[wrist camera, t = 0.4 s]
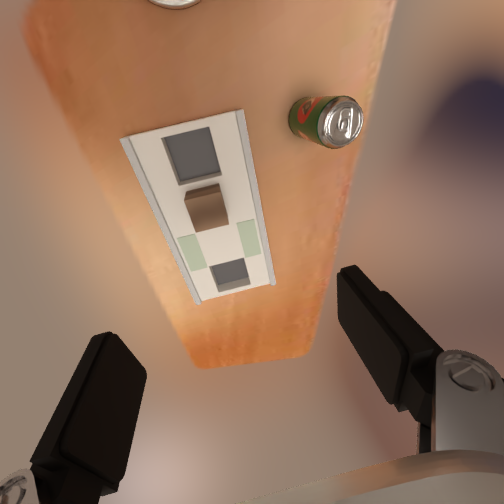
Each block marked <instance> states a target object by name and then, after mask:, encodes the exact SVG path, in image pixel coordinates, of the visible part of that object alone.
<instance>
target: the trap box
mask: <svg viewBox="0 0 504 504" xmlns="http://www.w3.org/2000/svg"><path fill="white" fill-rule="evenodd" d="M119 140H120V142H121V144H122V146H123V148H124V150H125V153H126V155H127V157H128V159H129V161H130V163H131V166H132V168H133V170H134V172H135V174H136V176H137V178H138V181H139V183H140V185H141V187H142V189H143V191H144V194H145V196H146V198H147V200H148V202H149V204H150V206H151V209H152V211H153V213H154V215H155V217H156V219H157V222H158V224H159V226H160V228H161V230H162V232H163V234H164V237H165V239H166V241H167V243H168V245H169V247H170V250H171V252H172V254H173V256H174V258H175V260H176V262H177V265H178V267H179V269H180V271H181V273H182V275H183V278H184V280H185V282H186V284H187V286H188V288H189V291H190V293H191V295H192V297H193V299H194V301H195V303H196V305H199V304H201V301H204V300H207V299H211V298H215V297H219V296H223V295H227V294H231V293H235V292H238V291H242V290H246V289H250V288H254V287H258V286H262V285H266V284H269V283H270V284H271V286H273V285H276V281H275V276H274V270H273V265H272V260H271V254H270V249H269V244H268V238H267V233H266V228H265V222H264V217H263V212H262V206H261V201H260V196H259V190H258V185H257V180H256V174H255V169H254V164H253V158H252V153H251V148H250V142H249V137H248V131H247V126H246V121H245V115H244V110H243V109H237V110H233V111H229V112H225V113H221V114H217V115H212V116H208V117H204V118H200V119H196V120H192V121H187V122H183V123H179V124H175V125H171V126H166V127H162V128H158V129H154V130H150V131H146V132H141V133H137V134H133V135H129V136H126V137H123V138H121V139H119ZM218 183H219V185H220V189H221V192H222V196H223V200H224V203H225V207H226V210H227V214H228V220H229V225H225V226H221V227H217V228H213V229H209V230H205V231H201V232H197V233H196V232H195V229H194V227H193V224H192V221H191V219H190V216H189V213H188V211H187V208H186V205H185V203H184V198H185V194H186V191H190V190H194V189H198V188H202V187H206V186H210V185H214V184H218Z"/></svg>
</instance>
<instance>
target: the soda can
mask: <svg viewBox="0 0 504 504" xmlns="http://www.w3.org/2000/svg"><path fill="white" fill-rule="evenodd" d="M289 124H290V128H291V130H292V131H293V133H294V134H295V135H297V136H299V137H301V138H304V139H306V140H309V141H312V142H314V143H317V144H319V145H322V146H325V147H327V148H331V149H338V148H341V147H344V146H345V145H348V144H349V143H351V142H352V141H353V140H354V139H355V138H356V137H357V136H358V134H359V133H360V131H361V128H362V125H363V112H362V109H361V107H360V106H359V105H358V103H357V102H356V101H355V100H354V99H353V98H351V97H349V96H326V97H306V98H303V99H300V100H299V101H298V102H297V103H296V104H295V105H294V106H293V108H292V110H291V112H290V116H289Z"/></svg>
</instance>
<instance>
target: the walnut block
mask: <svg viewBox="0 0 504 504" xmlns="http://www.w3.org/2000/svg"><path fill="white" fill-rule="evenodd" d="M184 203H185V205H186V208H187V211H188V213H189V216H190V219H191V221H192V224H193V227H194V229H195V232H196V233H197V232H201V231H205V230H209V229H213V228H217V227H221V226H225V225H229V220H228V214H227V210H226V207H225V203H224V200H223V196H222V192H221V189H220V185H219V183H218V184H214V185H210V186H206V187H202V188H198V189H194V190H190V191H186V194H185V198H184Z"/></svg>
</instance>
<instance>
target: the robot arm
mask: <svg viewBox="0 0 504 504" xmlns="http://www.w3.org/2000/svg"><path fill="white" fill-rule="evenodd" d="M149 1H150V2H152V3H154V4H156V5H159V6H162V7H164V8H170V9H182V8H188V7H190V6H192V5H194V4H197V3H198V2H200V1H201V0H183V1H182V0H149ZM337 298H338V299H337V303H338V319H339V322H340V324H341V326H342V328H343V329H344V331H345V333H346V334H347V336H348V337H349V339H350V341H351V343H352V344H353V346H354V348H355V349H356V351H357V353H358V354H359V356H360V357H361V359H362V361H363V363H364V364H365V366H366V367H367V369H368V371H369V373H370V374H371V376H372V377H373V379H374V381H375V382H376V384H377V386H378V387H379V389H380V391H381V392H382V394H383V396H384V397H385V399H386V401H387V402H388V403H389V404H394V405H395V407H396V408H397V410H398V412H401V411H405V410H409V412H410V413H411V415H412V416H413V418H414V419H415V420H416V421H418V426H417V445H416V455H412V456H407V457H403V458H400V459H396V460H392V461H388V462H384V463H380V464H376V465H372V466H369V467H365V468H361V469H357V470H353V471H350V472H346V473H343V474H340V475H336V476H332V477H328V478H325V479H321V480H318V481H315V482H311V483H307V484H303V485H300V486H296V487H293V488H289V489H286V490H282V491H279V492H275V493H272V494H268V495H265V496H261V497H258V498H254V499H251V500H247V501H244V502H240V503H237V504H504V379H503V378H501V376H500V374H499V373H498V372H497V370H496V369H495V368H494V367H493V366H492V365H490V364H489V363H488V362H487V361H486V360H484V359H482V358H480V357H479V356H477V355H475V354H472V353H469V352H467V351H462V350H447V351H444V350H443V349H442V348H441V347H440V346H439V345H438V344H437V343H436V342H435V341H434V340H433V339H432V338H431V337H430V336H429V335H428V334H427V333H426V331H425V330H423V328H422V327H421V326H420V325H419V324H418V323H417V322H416V321H415V320H414V319H413V318H412V317H411V316H410V315H409V314H408V313H407V312H406V311H405V310H404V308H403V307H402V306H401V305H400V304H399V303H398V302H397V301H396V300H395V299H394V298H393V297H392V296H391V295H390V294H389V293H388V292H385V291H380V290H379V289H378V288H377V287H376V286H375V285H374V284H373V283H372V282H371V280H370V279H369V278H368V277H367V276H366V275H365V274H364V273H363V272H362V271H361V270H360V269H359V267H358V266H356V265H352V266H348V267H344V268H341V270H340V272H339V273H337ZM146 379H147V373H146V370H145V368H144V367H143V366H142V365H141V363H140V362H139V361H138V360H137V359H136V357H135V356H134V355H133V354H132V352H131V351H130V350H129V349H128V348H127V346H126V345H125V344H124V343H123V341H122V340H121V339H120V338H119V336H118V335H117V334H113V333H112V332H105V333H101V334H98V335H94V336H93V337H92V338H91V340H90V342H89V344H88V346H87V348H86V350H85V352H84V354H83V356H82V358H81V360H80V362H79V364H78V366H77V368H76V370H75V372H74V374H73V376H72V378H71V380H70V382H69V384H68V386H67V388H66V390H65V392H64V394H63V396H62V398H61V400H60V402H59V404H58V406H57V408H56V410H55V412H54V414H53V416H52V418H51V420H50V422H49V423H48V425H47V427H46V430H45V432H44V433H43V436H42V438H41V439H40V441H39V443H38V445H37V447H36V449H35V451H34V454H33V455H32V458H31V459H30V462H32V463H33V464H32V466H31V468H30V470H28V469H21V470H18V471H16V472H14V473H12V474H10V475H9V476H7V477H6V478H5V479H4V480H2V481H1V482H0V504H98V502H99V498H100V496H105V495H108V494H112V493H115V492H117V491H118V487H119V482H120V481H121V480H122V479H123V477H124V475H125V471H126V467H127V462H128V458H129V453H130V449H131V444H132V440H133V436H134V431H135V427H136V422H137V418H138V414H139V409H140V405H141V401H142V396H143V392H144V387H145V383H146Z"/></svg>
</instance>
